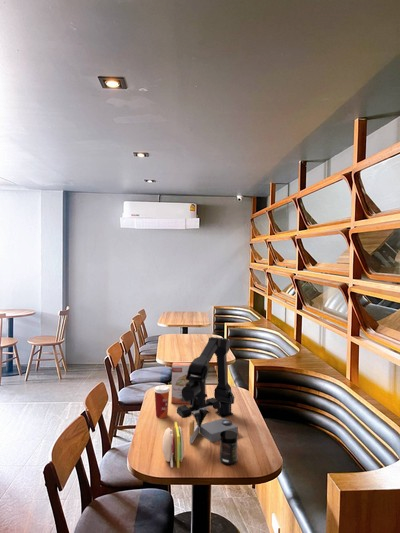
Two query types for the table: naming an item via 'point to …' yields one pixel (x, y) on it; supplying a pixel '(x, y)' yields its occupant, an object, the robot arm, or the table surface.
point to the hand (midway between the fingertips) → (198, 426)
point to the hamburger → (173, 445)
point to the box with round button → (216, 429)
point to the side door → (193, 431)
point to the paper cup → (161, 400)
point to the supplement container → (228, 447)
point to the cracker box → (179, 380)
